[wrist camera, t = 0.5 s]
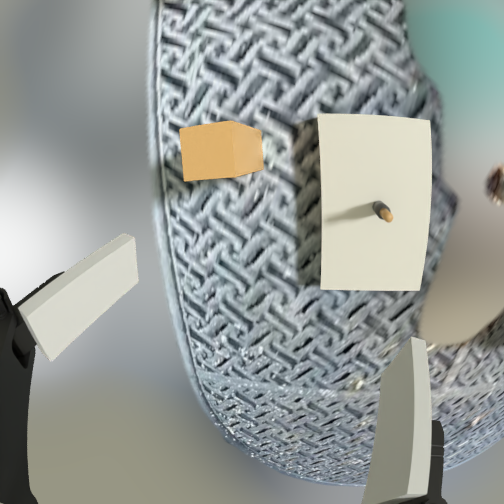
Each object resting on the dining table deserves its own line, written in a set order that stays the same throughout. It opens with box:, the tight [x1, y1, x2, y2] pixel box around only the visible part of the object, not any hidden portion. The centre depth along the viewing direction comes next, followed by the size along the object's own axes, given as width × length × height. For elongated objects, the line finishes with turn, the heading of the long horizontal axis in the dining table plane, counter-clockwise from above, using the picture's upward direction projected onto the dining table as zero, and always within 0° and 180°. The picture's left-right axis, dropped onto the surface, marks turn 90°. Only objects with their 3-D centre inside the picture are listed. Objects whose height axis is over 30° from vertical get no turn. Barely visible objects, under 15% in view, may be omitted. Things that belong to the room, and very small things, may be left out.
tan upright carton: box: [180, 121, 264, 181], centre depth 29 cm, size 5×5×12 cm
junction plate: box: [317, 114, 432, 291], centre depth 29 cm, size 22×14×8 cm, turn 4°
